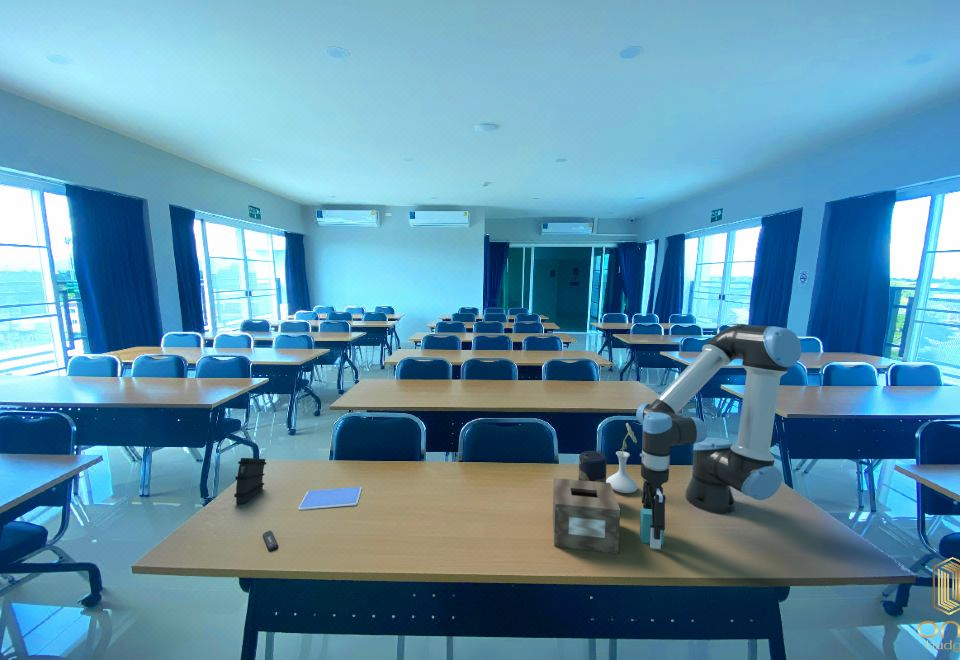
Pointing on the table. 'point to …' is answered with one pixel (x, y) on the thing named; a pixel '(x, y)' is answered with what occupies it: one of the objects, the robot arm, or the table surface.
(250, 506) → the table surface
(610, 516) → the suggestion box
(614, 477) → the flower in vase
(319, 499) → the tablet computer
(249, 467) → the black flat ridged block
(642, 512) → the block
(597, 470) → the canister
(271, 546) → the usb stick
